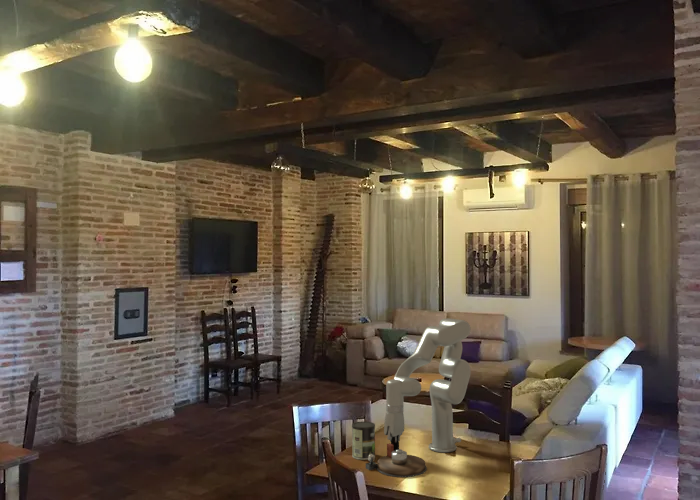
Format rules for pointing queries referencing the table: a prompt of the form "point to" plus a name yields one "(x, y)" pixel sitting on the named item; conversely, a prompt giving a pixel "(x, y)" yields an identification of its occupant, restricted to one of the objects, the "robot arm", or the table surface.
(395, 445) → the robot arm
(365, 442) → the coffee can
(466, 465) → the table surface
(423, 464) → the turntable
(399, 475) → the turntable base
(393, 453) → the cover
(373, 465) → the small bust figurine
